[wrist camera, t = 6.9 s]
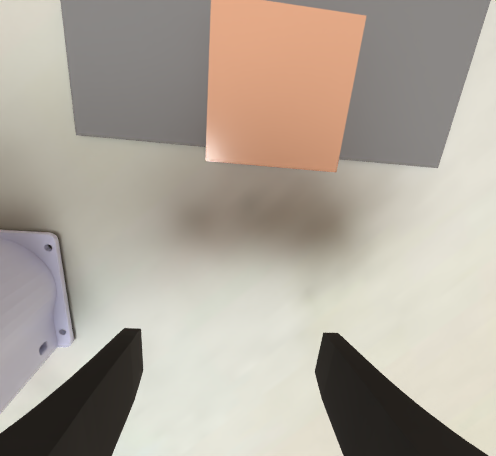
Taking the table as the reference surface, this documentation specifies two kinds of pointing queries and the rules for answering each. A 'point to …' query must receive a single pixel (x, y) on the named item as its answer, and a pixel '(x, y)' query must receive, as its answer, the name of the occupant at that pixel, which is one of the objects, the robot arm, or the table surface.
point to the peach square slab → (279, 83)
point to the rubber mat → (197, 66)
